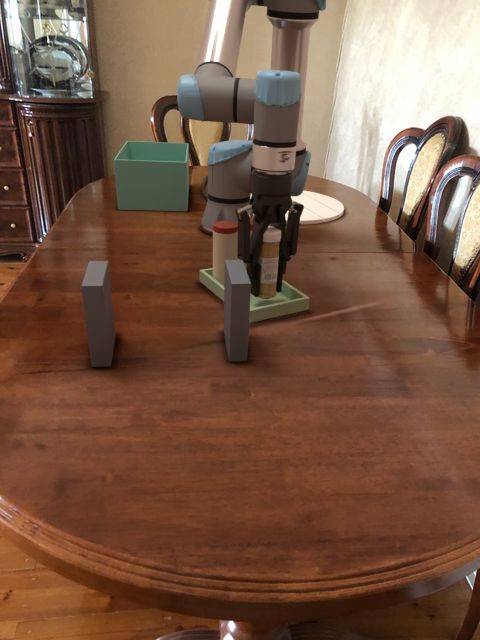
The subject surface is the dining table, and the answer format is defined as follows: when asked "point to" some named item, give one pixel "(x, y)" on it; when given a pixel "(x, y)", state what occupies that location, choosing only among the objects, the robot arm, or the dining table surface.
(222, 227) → the spice bottle
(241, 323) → the grey upright slab
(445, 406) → the dining table surface
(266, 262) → the sprinkles bottle
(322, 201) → the lazy susan
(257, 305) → the tray
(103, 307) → the grey book front
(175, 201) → the box
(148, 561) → the dining table surface
